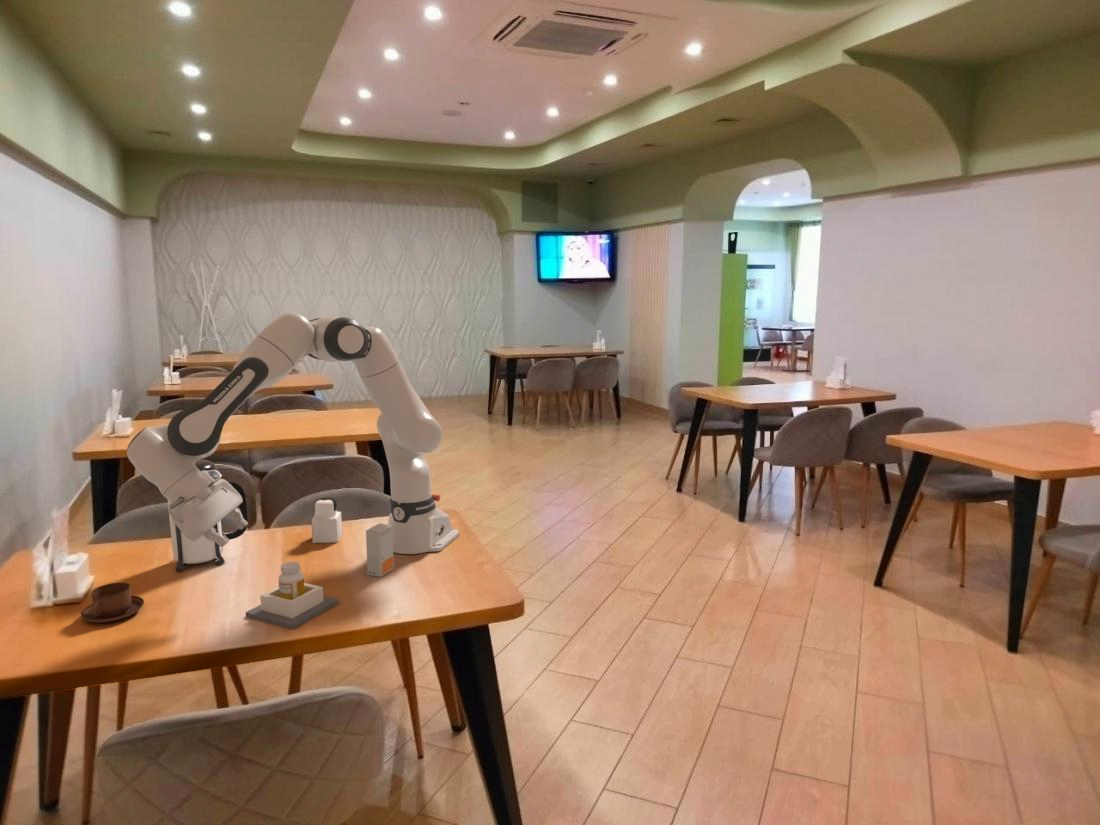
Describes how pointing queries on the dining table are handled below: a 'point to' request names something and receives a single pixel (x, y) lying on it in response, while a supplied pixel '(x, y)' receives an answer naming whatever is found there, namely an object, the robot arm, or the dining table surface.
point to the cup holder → (291, 607)
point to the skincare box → (379, 550)
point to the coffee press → (202, 547)
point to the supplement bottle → (291, 581)
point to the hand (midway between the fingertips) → (235, 535)
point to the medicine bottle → (326, 521)
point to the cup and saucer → (112, 603)
